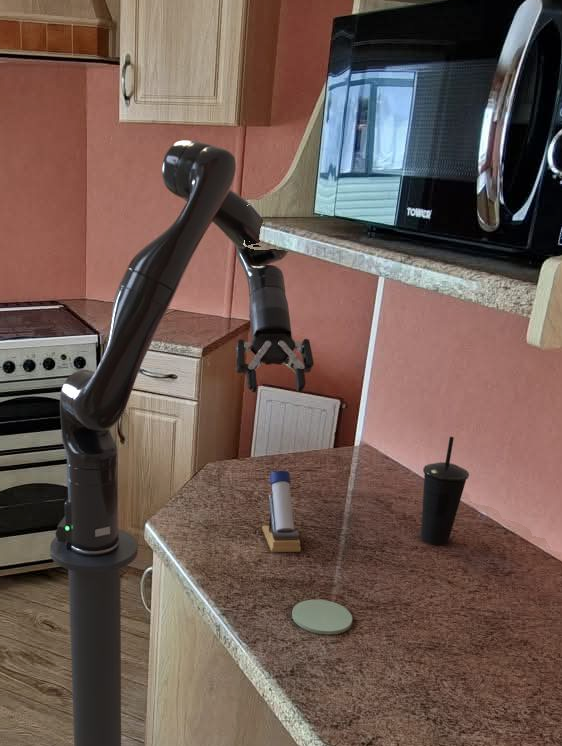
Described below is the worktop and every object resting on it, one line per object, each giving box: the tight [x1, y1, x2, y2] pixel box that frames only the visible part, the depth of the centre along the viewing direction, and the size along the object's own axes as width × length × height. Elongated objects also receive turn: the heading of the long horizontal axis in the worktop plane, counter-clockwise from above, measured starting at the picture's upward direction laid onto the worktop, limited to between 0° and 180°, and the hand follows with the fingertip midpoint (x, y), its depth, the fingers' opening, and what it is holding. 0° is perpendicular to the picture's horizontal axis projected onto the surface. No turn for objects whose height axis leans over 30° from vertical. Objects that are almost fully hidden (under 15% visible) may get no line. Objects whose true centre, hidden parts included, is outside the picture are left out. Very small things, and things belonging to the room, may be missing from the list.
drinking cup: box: [420, 436, 470, 546], centre depth 142 cm, size 8×8×20 cm
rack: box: [261, 494, 302, 553], centre depth 144 cm, size 9×5×8 cm, turn 2°
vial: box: [269, 470, 295, 531], centre depth 144 cm, size 10×4×10 cm, turn 2°
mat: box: [291, 598, 353, 635], centre depth 121 cm, size 9×9×1 cm
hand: (277, 390), depth 147 cm, fingers open, 8 cm apart
